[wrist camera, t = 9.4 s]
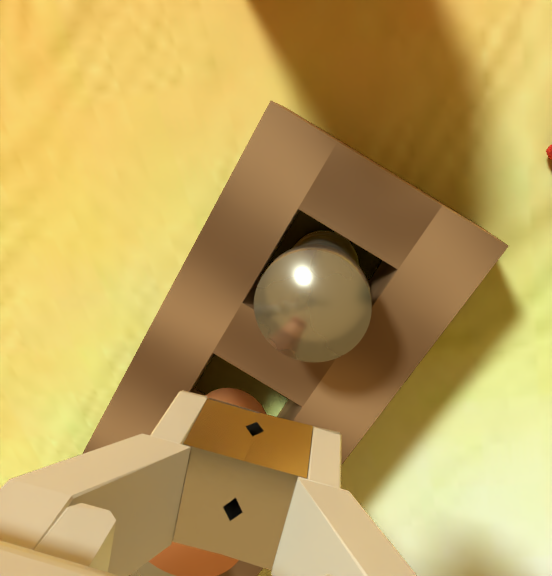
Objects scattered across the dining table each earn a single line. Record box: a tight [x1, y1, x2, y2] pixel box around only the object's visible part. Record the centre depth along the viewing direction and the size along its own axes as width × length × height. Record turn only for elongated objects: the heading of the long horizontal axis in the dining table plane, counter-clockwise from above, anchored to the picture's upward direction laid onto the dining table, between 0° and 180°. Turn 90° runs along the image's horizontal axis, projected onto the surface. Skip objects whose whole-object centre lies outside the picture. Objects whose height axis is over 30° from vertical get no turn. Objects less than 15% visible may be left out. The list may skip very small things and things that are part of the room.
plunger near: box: [254, 231, 372, 362], centre depth 20 cm, size 4×4×6 cm
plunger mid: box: [149, 388, 266, 576], centre depth 19 cm, size 4×4×6 cm
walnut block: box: [83, 101, 508, 576], centre depth 24 cm, size 24×10×4 cm, turn 150°
